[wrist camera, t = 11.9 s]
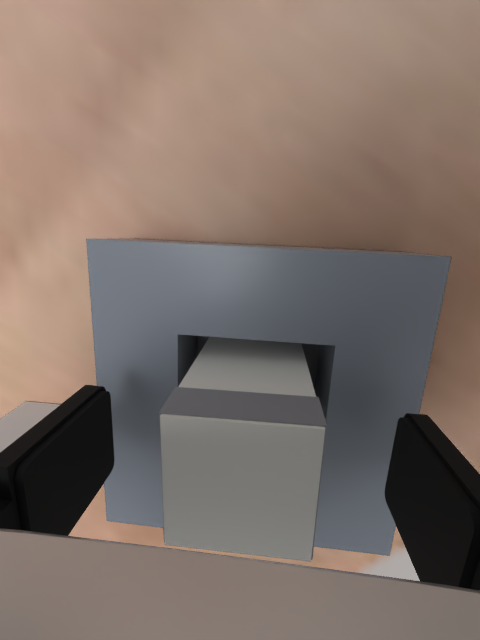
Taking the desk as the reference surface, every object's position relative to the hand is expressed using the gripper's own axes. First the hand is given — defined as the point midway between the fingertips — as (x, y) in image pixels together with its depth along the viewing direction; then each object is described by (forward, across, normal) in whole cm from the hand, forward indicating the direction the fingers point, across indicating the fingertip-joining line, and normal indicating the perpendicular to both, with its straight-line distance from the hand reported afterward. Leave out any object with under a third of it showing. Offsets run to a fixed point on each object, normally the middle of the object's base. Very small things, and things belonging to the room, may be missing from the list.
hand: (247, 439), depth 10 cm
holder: (+6, 0, 0) cm, 6 cm away
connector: (+5, 0, 0) cm, 5 cm away
